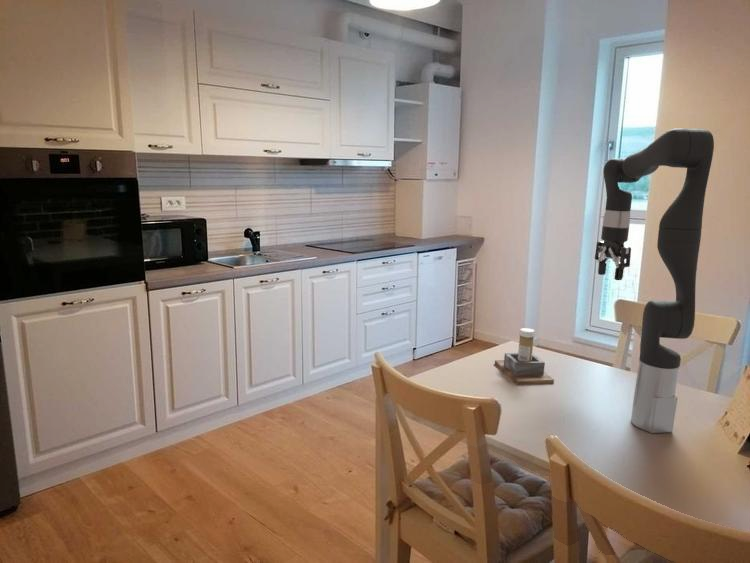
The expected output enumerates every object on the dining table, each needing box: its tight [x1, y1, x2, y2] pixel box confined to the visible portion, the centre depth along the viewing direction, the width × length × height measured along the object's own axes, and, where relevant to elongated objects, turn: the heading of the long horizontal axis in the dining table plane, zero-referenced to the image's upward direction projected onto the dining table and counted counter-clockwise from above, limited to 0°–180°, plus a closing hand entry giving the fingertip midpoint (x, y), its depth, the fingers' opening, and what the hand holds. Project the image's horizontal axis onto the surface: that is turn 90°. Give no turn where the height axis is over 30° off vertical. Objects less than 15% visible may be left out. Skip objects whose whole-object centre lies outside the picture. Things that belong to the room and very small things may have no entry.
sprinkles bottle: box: [517, 327, 536, 362], centre depth 174 cm, size 5×5×14 cm
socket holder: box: [494, 352, 555, 386], centre depth 175 cm, size 18×12×5 cm, turn 10°
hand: (609, 277), depth 170 cm, fingers open, 8 cm apart
